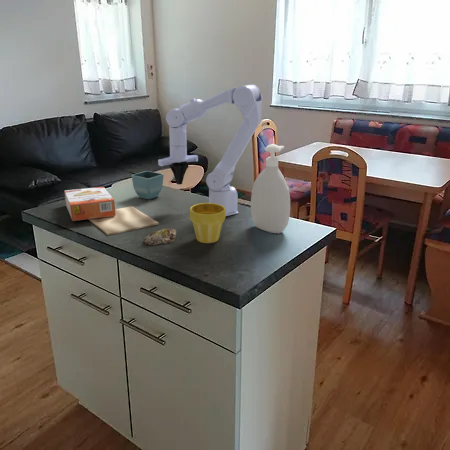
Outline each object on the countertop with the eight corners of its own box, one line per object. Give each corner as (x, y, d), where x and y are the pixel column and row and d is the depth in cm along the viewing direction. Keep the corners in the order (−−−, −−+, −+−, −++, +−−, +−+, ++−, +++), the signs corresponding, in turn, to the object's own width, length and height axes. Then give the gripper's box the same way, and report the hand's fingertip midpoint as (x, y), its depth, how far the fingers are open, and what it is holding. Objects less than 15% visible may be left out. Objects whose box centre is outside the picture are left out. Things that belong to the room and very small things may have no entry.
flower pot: (165, 196, 175) (164, 173, 172) (149, 202, 168) (148, 178, 165) (147, 192, 180) (146, 170, 176) (132, 198, 173) (130, 175, 169)
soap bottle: (296, 231, 142) (303, 145, 133) (281, 238, 137) (286, 149, 127) (260, 220, 152) (263, 138, 142) (244, 226, 146) (247, 142, 137)
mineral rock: (165, 224, 141) (180, 225, 135) (168, 238, 142) (183, 239, 136) (135, 234, 134) (149, 235, 128) (138, 248, 135) (153, 250, 129)
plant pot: (213, 248, 129) (214, 216, 126) (183, 241, 134) (182, 210, 131) (231, 237, 138) (231, 206, 134) (202, 230, 142) (202, 200, 139)
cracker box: (70, 203, 144) (63, 189, 162) (72, 221, 145) (65, 206, 164) (114, 198, 149) (103, 185, 167) (116, 216, 151) (105, 201, 169)
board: (132, 207, 162) (131, 206, 162) (158, 224, 147) (158, 222, 147) (85, 216, 153) (84, 215, 153) (107, 235, 138) (107, 233, 137)
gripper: (190, 140, 161) (191, 178, 166) (153, 145, 154) (155, 184, 158) (201, 144, 156) (201, 182, 161) (163, 148, 148) (164, 188, 153)
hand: (179, 183), depth 159 cm, fingers closed
